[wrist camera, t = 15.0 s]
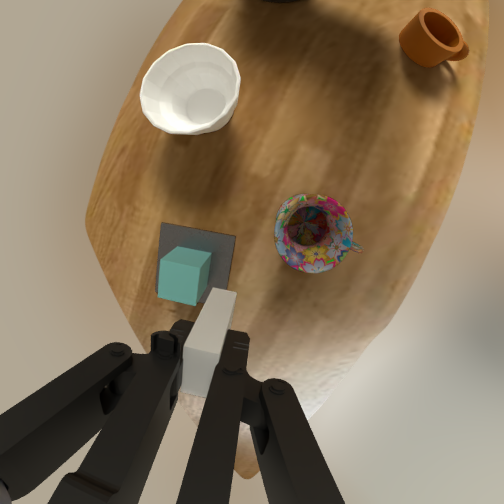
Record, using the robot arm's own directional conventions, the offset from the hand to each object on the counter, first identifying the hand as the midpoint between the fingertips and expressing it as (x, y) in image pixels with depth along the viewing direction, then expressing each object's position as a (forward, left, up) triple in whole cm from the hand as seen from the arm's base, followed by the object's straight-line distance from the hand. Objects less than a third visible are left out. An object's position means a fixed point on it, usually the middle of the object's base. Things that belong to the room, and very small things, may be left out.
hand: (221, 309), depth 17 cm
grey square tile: (+7, -8, -26) cm, 28 cm away
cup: (-18, -10, -27) cm, 34 cm away
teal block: (+7, -8, -26) cm, 28 cm away
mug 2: (-40, +25, -27) cm, 54 cm away
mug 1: (-3, +9, -27) cm, 28 cm away
